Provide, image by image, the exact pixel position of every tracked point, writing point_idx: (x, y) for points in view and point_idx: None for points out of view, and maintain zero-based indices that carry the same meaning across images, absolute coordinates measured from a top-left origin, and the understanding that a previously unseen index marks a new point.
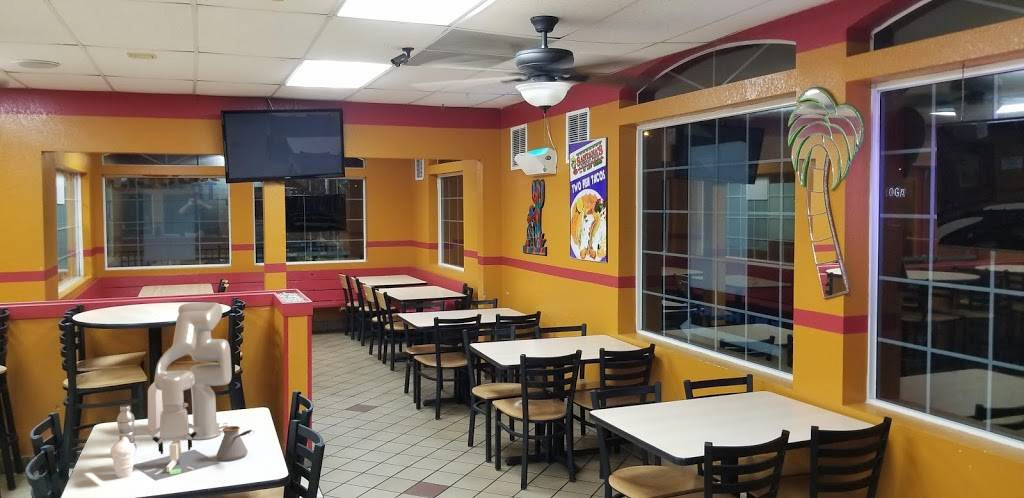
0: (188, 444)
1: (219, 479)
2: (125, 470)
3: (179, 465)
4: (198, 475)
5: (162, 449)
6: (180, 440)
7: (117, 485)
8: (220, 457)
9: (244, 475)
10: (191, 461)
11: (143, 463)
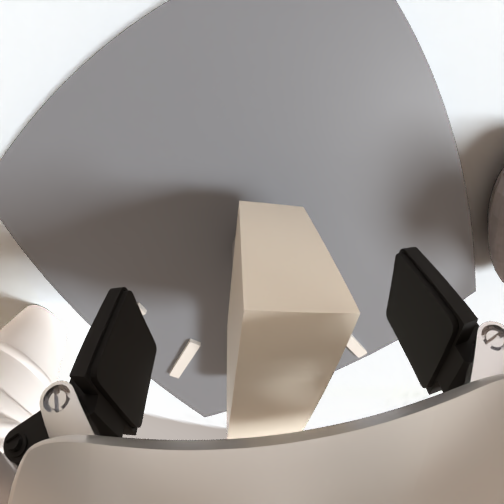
0: (413, 360)
1: (419, 386)
2: None
3: None
4: (371, 356)
5: (149, 381)
6: (355, 309)
7: (60, 368)
8: (497, 272)
9: None
10: (364, 218)
11: (20, 169)
